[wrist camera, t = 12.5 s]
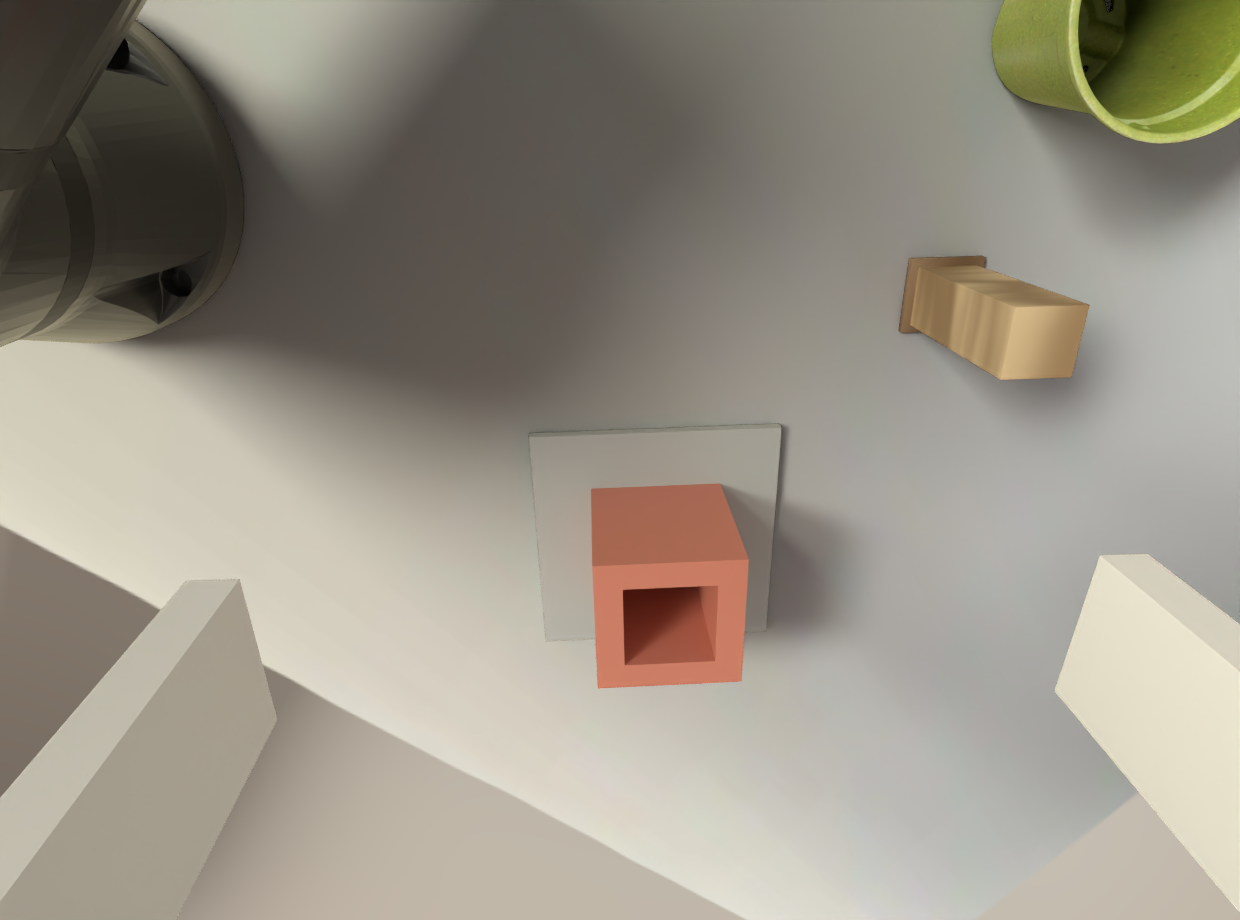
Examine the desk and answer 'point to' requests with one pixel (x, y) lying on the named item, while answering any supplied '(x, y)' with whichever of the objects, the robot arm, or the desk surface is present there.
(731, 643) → the salmon square sleeve
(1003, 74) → the plant pot
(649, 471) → the coaster
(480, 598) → the desk surface
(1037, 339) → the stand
